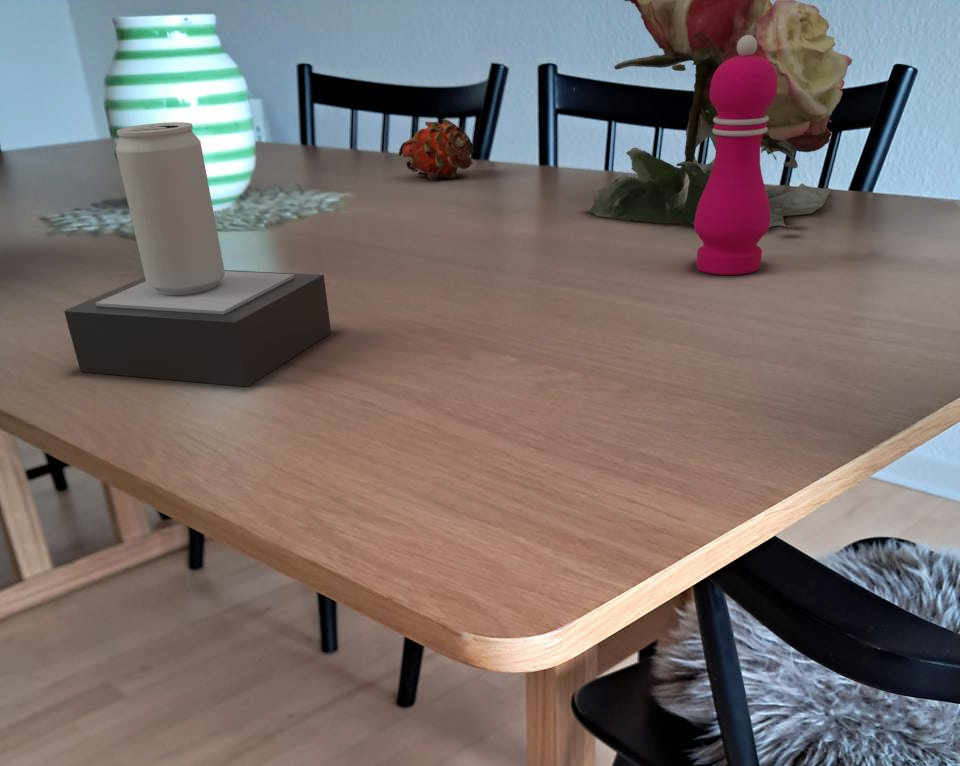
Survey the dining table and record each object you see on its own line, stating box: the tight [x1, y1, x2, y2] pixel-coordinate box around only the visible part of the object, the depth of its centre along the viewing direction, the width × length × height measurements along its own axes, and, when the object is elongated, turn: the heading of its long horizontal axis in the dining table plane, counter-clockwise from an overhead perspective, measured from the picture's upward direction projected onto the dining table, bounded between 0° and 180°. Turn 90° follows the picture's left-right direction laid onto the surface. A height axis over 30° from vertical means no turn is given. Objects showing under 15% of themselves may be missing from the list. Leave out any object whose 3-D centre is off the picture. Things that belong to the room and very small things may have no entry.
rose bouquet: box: [573, 0, 853, 235], centre depth 117 cm, size 26×29×30 cm
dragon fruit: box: [396, 118, 474, 181], centre depth 151 cm, size 8×8×12 cm
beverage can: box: [115, 121, 226, 295], centre depth 80 cm, size 6×6×12 cm
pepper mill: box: [693, 35, 777, 276], centre depth 95 cm, size 7×7×20 cm
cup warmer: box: [63, 269, 332, 388], centre depth 85 cm, size 17×14×5 cm
